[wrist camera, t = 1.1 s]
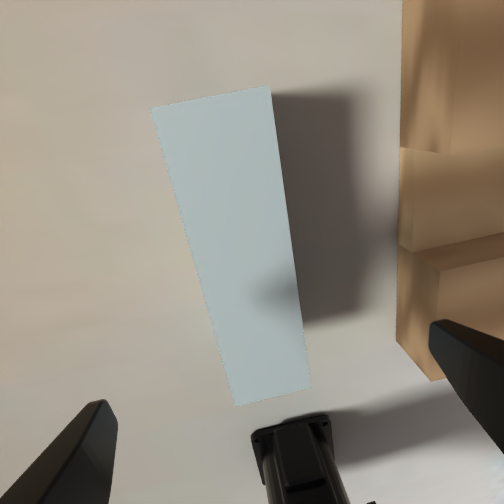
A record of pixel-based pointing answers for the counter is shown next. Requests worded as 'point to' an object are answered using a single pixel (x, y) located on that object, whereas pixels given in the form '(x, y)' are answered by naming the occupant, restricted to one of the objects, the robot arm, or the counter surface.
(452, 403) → the counter surface
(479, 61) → the notched beam
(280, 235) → the pale blue block
